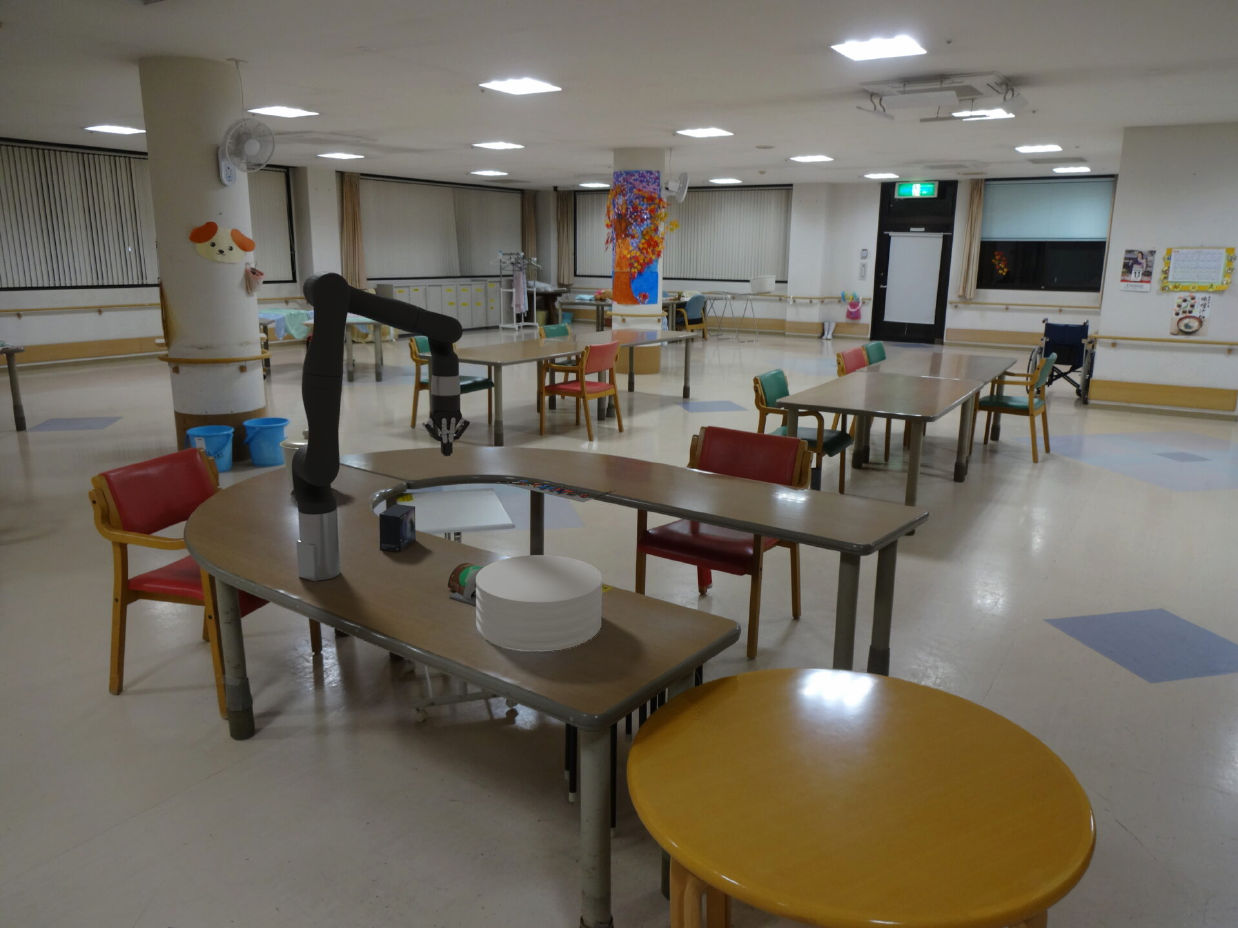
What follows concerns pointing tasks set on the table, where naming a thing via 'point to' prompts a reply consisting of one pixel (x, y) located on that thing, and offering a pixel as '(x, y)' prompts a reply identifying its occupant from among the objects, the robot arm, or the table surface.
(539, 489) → the gear board
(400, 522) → the small box
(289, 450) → the canister
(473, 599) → the rubber mat
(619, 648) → the table surface
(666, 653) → the table surface
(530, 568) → the plate stack
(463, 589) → the cake slice
